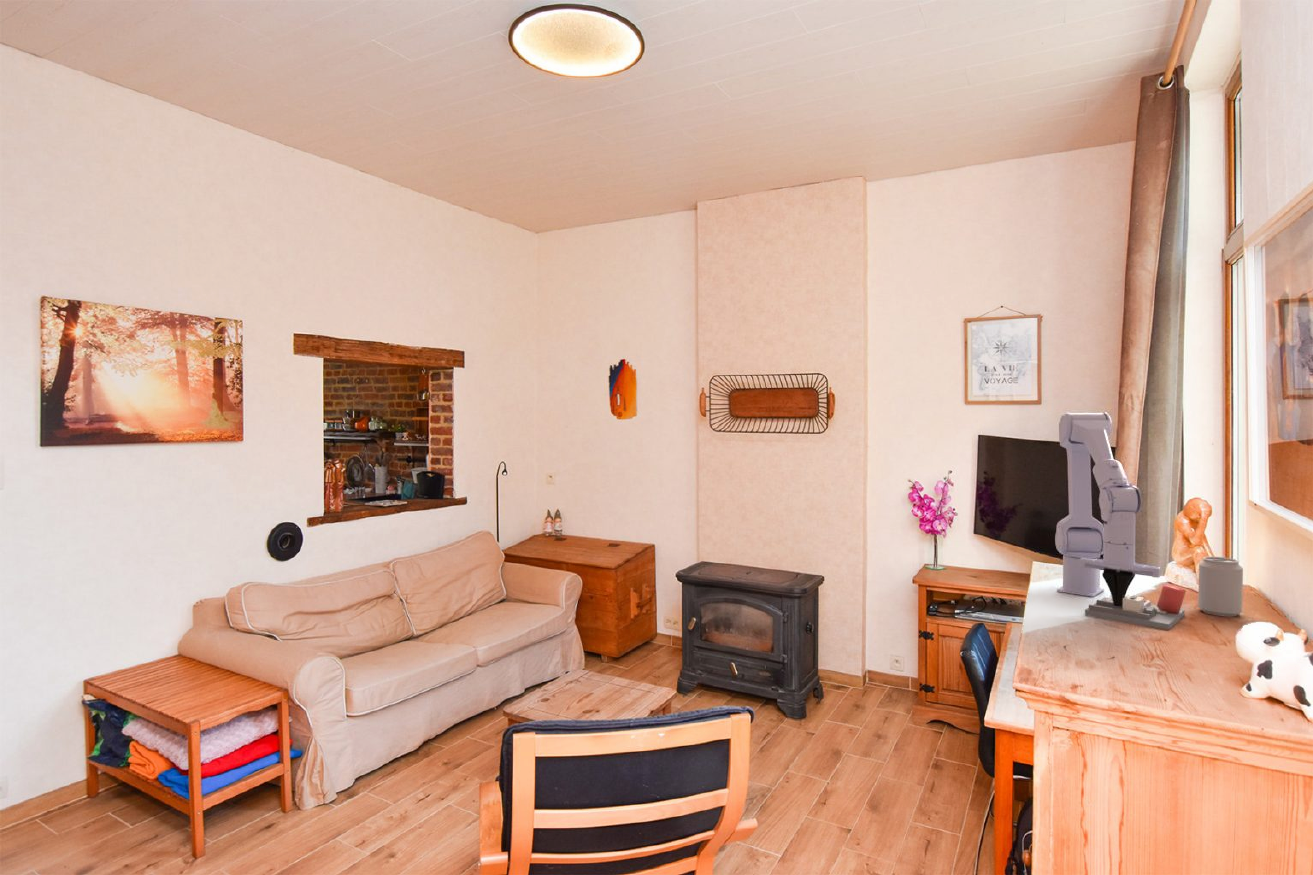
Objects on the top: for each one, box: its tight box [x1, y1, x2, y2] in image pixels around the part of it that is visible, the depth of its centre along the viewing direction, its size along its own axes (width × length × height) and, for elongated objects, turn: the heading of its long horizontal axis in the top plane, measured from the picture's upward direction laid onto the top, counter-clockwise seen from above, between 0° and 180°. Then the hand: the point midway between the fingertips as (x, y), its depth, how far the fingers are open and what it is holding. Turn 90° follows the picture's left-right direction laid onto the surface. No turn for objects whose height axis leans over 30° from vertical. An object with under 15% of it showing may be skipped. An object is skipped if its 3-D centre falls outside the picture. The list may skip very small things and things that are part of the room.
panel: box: [1084, 595, 1185, 631], centre depth 152 cm, size 15×15×3 cm
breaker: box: [1123, 594, 1145, 613], centre depth 149 cm, size 4×3×3 cm
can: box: [1197, 556, 1244, 618], centre depth 154 cm, size 8×8×12 cm
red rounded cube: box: [1156, 583, 1187, 614], centre depth 150 cm, size 4×4×5 cm
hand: (1118, 605), depth 151 cm, fingers closed
